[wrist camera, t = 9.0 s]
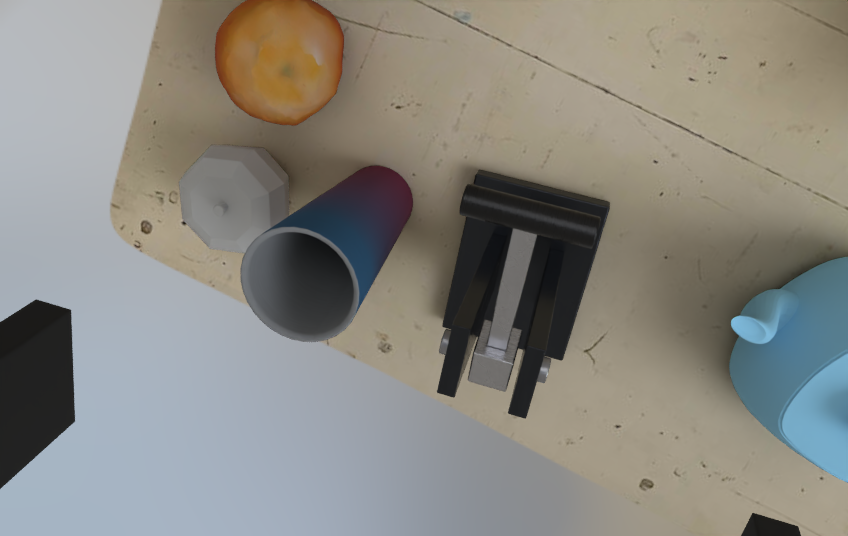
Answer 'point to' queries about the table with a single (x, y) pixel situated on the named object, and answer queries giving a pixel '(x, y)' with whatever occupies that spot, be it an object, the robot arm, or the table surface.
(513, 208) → the lever
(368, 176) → the cup
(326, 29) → the fruit
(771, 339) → the teapot
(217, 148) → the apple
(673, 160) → the table surface
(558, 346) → the bracket
